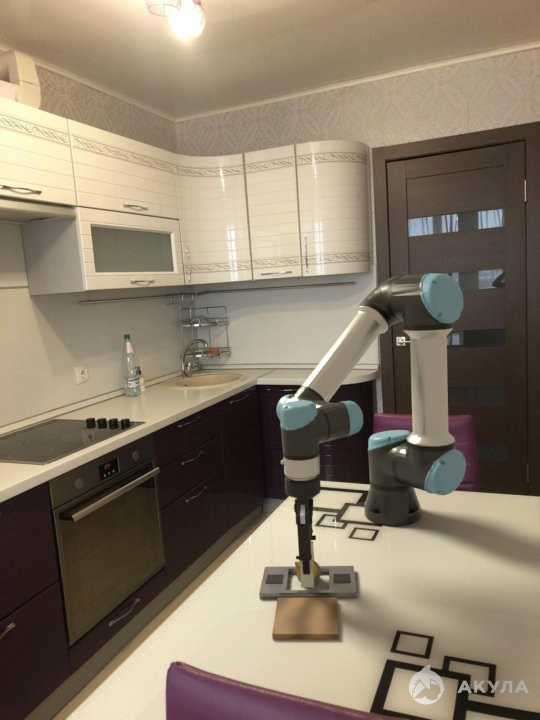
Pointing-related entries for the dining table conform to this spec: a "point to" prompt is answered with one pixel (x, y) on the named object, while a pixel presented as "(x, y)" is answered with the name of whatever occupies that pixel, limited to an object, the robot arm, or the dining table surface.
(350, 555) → the dining table surface
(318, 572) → the yellow knob cap
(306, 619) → the pad
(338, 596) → the grey rectangular frame
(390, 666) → the dining table surface
